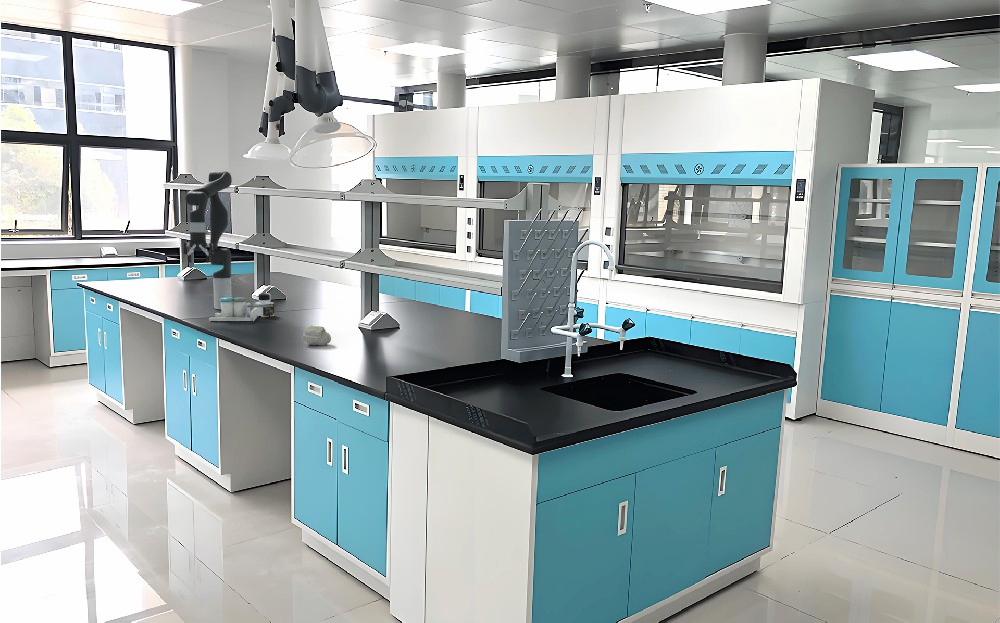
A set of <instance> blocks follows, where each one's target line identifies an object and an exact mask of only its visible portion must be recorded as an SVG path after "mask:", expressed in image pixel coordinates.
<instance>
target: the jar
mask: <svg viewBox="0 0 1000 623" xmlns="http://www.w3.org/2000/svg"><path fill="white" fill-rule="evenodd" d="M233 298H234V297H232V296H231V297H224V298H220V302H221V309H220V311H221V312H220V313H221V317H234V301H233Z"/></svg>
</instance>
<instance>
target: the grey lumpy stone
mask: <svg viewBox="0 0 1000 623" xmlns="http://www.w3.org/2000/svg"><path fill="white" fill-rule="evenodd" d="M302 339H303V340H304V341H305V342H306V343H307V344H308V345H309V346H319V347H323V346H326V345H329V344H331V342H332V336H331V334H330V332H328V331H327V330H326V329H325V327H324V326H318V325H317V326H314V325H310V326H307V327H305V328H304V330H303V333H302Z"/></svg>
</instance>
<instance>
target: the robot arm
mask: <svg viewBox="0 0 1000 623" xmlns="http://www.w3.org/2000/svg"><path fill="white" fill-rule="evenodd" d="M232 181H233V178H232V174H231V173H230V172H229V171H226V170H211V171H209V174H208V182H206V183H204V184H202V185H201V186H199V187H198V188H194V189H192V190H190V191H188V192H187V193H186V194H185V197H184V200H185V203H186V204H187V205H189V206H191V207H194V206H195V207H196V206H198V207H197V209H195V210H190V212H189V238H190V239H189V241H190V242H187V241H186V242H183V254H184V255H186V256H187V262H188V263H190V264H191V263H192V262H193V261H192V253H193V252H202V251H203V253H205V255H206V257H205V258H206V264H208V263H210V265H212V266H223V267H222V268H221V269H219V270H217V271H214V272H213V273H212V280H213V285H212V286H213V309H216V310H221V302H220V298H224V297H232V253H231V250H230V249H229V248H218V244H219V242H220V240H221V237H222V235H223V234H224V233H225V231H226V229H227V228H228V226H229V214H228V210H227V207H225V205H224V203H223V202H222V200H221V198H220V195H219V192H221V191H223V190H225V189H229V188H230V186H231V185H232V183H233V182H232ZM208 200H209V202H210V203H209V210H210V211H209V224H210V225H209V226H210V227H209V228H210V229H209V230H210V235H209V236H210V237H209V239H210V240H209V241H210V242H207V232H206V230H207V229H206V217H205V215H206V210H207V205H208ZM189 246H190V249H189V251H188V247H189ZM206 247H208V248H209V250H208V249H207V248H206Z"/></svg>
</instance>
